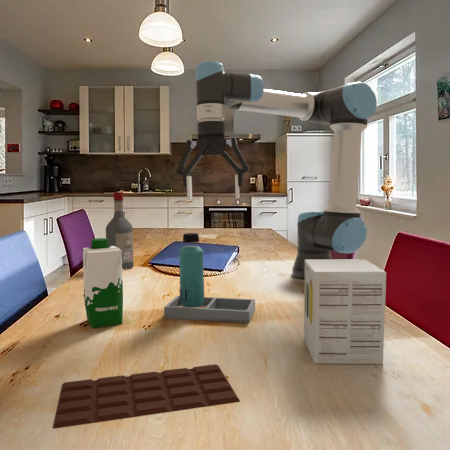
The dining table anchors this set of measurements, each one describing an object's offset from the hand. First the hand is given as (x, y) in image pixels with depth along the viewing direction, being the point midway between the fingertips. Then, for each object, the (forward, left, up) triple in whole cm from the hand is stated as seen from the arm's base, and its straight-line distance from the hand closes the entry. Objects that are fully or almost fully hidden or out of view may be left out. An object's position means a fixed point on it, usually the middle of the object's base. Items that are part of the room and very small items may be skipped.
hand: (213, 199), depth 121 cm
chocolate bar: (-1, +55, -30) cm, 63 cm away
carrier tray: (-2, +13, -29) cm, 32 cm away
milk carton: (+22, +24, -29) cm, 44 cm away
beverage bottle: (+3, +13, -28) cm, 31 cm away
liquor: (+47, -39, -29) cm, 68 cm away
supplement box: (-33, +32, -29) cm, 54 cm away
